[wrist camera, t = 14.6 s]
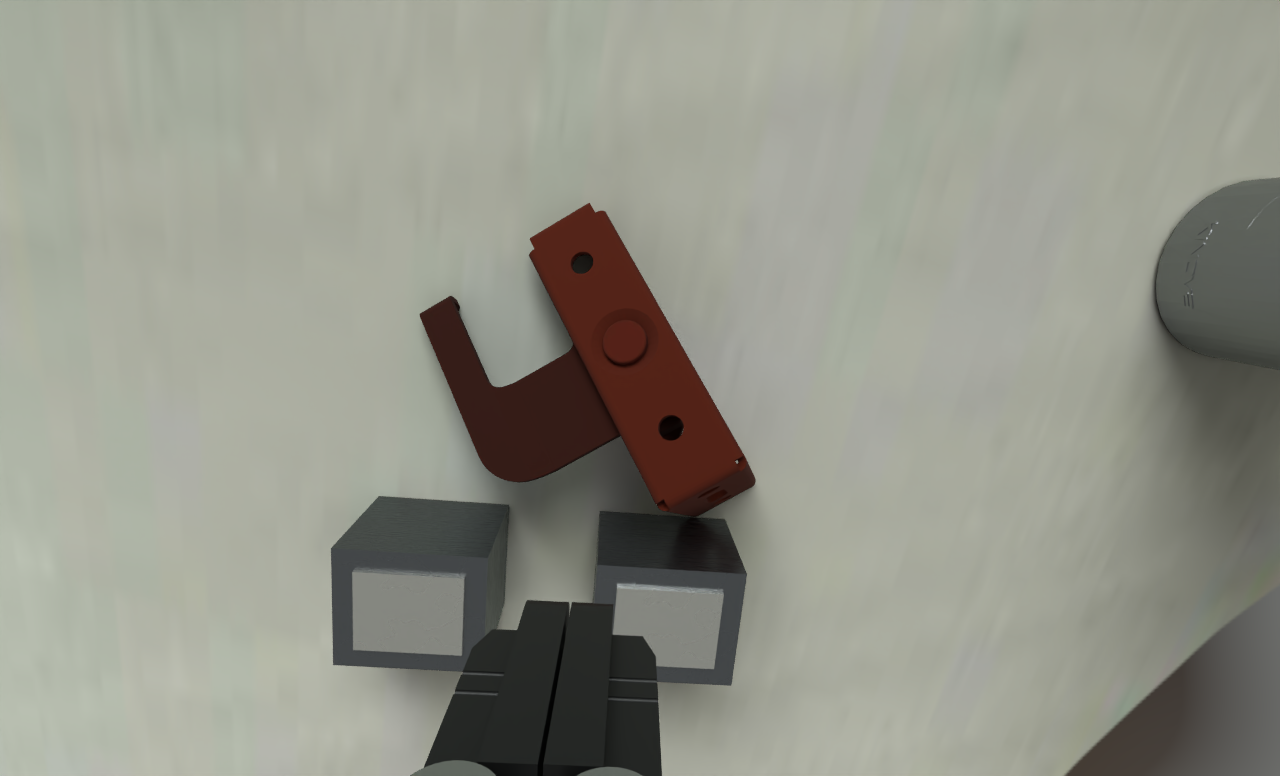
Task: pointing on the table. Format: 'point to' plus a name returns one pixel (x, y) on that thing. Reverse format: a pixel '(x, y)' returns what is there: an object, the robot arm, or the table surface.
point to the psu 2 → (673, 591)
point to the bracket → (596, 381)
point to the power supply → (418, 583)
